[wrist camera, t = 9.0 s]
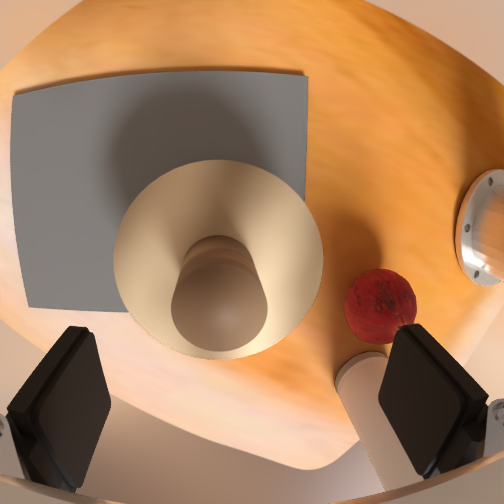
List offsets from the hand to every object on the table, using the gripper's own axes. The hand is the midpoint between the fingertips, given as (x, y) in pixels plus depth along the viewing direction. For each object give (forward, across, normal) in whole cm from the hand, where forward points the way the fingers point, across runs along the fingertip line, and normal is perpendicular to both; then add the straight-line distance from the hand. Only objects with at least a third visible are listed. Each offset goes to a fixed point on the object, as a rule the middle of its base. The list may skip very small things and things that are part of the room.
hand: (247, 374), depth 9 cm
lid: (+10, +1, 0) cm, 10 cm away
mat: (+16, +7, -3) cm, 18 cm away
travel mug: (+17, -13, +15) cm, 26 cm away
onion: (+17, -11, +5) cm, 21 cm away
